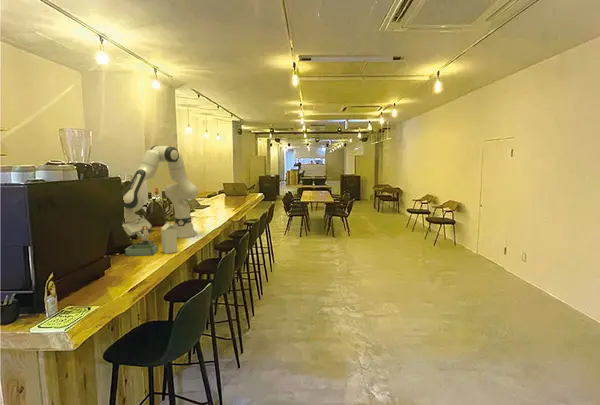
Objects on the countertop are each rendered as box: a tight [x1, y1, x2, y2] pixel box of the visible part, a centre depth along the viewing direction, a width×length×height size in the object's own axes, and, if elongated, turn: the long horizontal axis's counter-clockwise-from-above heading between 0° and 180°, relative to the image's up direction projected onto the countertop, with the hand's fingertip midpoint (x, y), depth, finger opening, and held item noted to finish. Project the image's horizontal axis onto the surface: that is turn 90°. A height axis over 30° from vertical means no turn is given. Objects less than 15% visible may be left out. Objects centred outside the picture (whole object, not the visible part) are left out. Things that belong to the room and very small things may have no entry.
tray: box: [124, 244, 159, 257], centre depth 227 cm, size 11×16×4 cm
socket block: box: [137, 240, 154, 245], centre depth 237 cm, size 7×7×5 cm
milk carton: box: [160, 221, 178, 255], centre depth 230 cm, size 7×7×19 cm
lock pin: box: [141, 226, 149, 243], centre depth 236 cm, size 3×3×15 cm
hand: (146, 236), depth 236 cm, fingers closed on lock pin, 3 cm apart
